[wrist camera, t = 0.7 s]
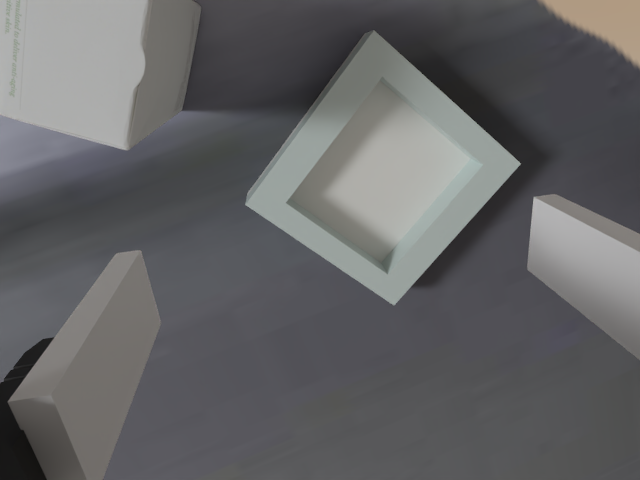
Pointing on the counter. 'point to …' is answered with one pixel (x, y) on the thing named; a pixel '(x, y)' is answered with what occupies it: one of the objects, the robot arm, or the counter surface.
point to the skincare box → (96, 65)
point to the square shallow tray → (381, 171)
